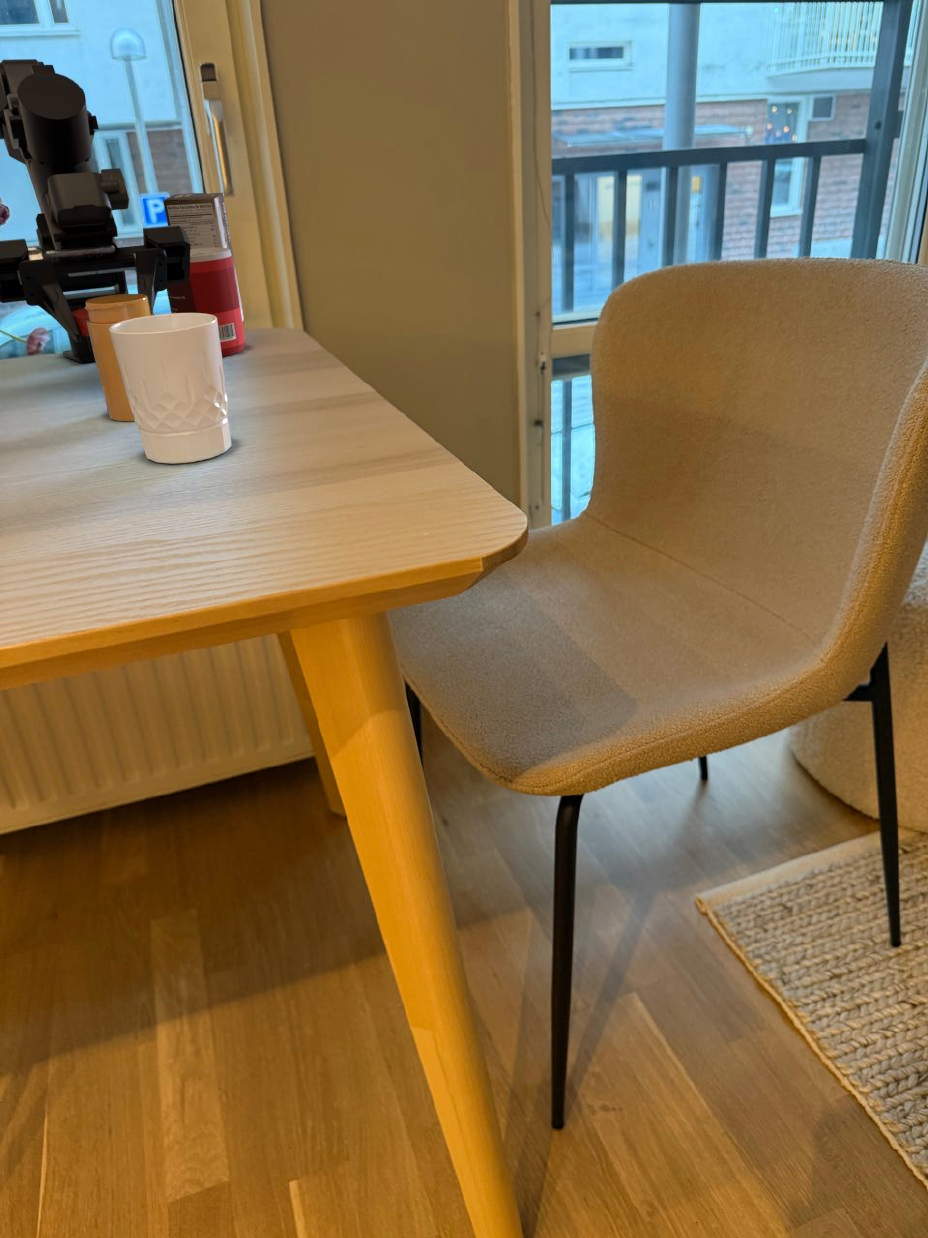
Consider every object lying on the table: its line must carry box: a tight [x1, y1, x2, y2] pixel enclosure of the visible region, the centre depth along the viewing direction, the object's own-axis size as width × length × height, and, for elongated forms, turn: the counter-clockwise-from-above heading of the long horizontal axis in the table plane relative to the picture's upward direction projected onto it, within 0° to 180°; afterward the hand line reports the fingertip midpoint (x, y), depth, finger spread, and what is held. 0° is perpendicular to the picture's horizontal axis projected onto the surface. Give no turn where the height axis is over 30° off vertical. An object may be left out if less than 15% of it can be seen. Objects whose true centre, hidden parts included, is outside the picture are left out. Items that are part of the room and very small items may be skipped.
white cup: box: [109, 313, 232, 464], centre depth 70 cm, size 8×8×10 cm
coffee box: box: [162, 192, 245, 323], centre depth 115 cm, size 9×6×16 cm
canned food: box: [166, 248, 246, 358], centre depth 103 cm, size 8×8×11 cm
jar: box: [85, 293, 155, 422], centre depth 81 cm, size 6×6×10 cm
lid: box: [72, 308, 90, 336], centre depth 87 cm, size 6×6×2 cm
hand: (114, 334), depth 86 cm, fingers closed on lid, 6 cm apart
